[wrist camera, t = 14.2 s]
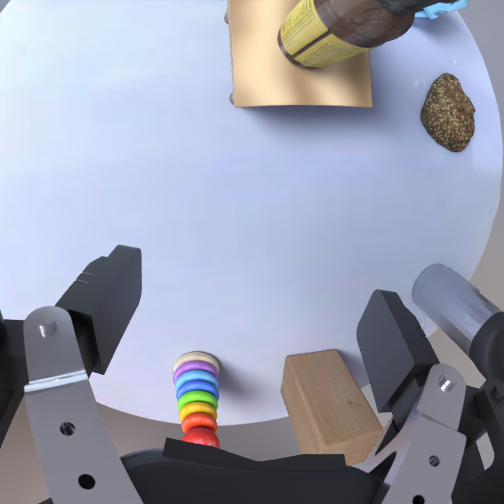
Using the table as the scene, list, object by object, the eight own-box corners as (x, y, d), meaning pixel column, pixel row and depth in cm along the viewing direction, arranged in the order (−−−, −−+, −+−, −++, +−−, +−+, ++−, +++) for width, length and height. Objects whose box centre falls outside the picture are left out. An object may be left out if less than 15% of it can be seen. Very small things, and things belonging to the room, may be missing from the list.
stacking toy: (228, 361, 51) (246, 454, 34) (202, 387, 53) (211, 476, 36) (188, 342, 48) (193, 440, 31) (164, 371, 50) (162, 464, 33)
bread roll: (409, 114, 39) (430, 116, 35) (441, 63, 36) (461, 62, 32) (451, 165, 44) (471, 171, 40) (478, 116, 41) (498, 119, 37)
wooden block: (337, 347, 54) (385, 430, 36) (327, 384, 58) (365, 462, 40) (285, 354, 53) (322, 448, 35) (279, 391, 57) (309, 477, 39)
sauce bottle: (346, 46, 25) (506, 4, 7) (307, 82, 26) (466, 52, 8) (302, 2, 23) (428, -94, 5) (258, 37, 24) (364, -70, 6)
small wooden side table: (325, 13, 31) (361, -10, 22) (333, 107, 37) (372, 107, 28) (219, 8, 30) (228, -23, 20) (226, 110, 35) (237, 106, 26)
